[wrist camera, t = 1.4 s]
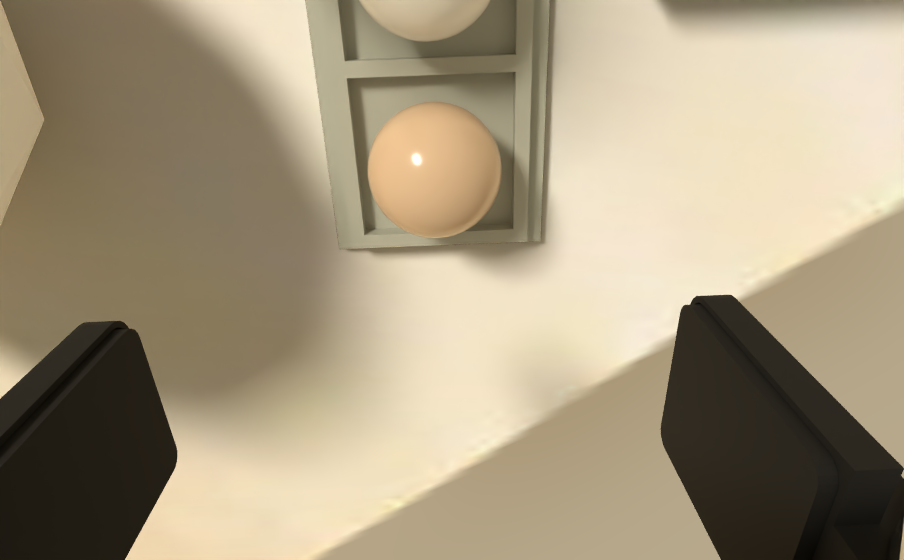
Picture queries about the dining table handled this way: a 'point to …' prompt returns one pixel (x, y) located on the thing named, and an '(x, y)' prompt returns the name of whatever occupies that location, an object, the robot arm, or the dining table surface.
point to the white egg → (425, 17)
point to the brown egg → (434, 169)
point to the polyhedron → (14, 115)
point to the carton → (432, 80)
